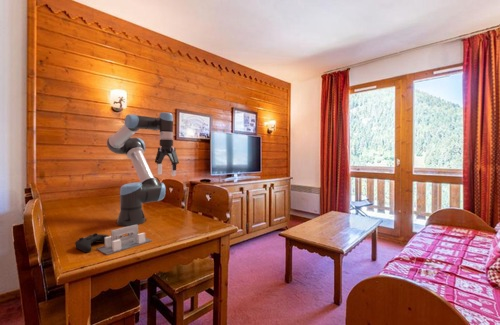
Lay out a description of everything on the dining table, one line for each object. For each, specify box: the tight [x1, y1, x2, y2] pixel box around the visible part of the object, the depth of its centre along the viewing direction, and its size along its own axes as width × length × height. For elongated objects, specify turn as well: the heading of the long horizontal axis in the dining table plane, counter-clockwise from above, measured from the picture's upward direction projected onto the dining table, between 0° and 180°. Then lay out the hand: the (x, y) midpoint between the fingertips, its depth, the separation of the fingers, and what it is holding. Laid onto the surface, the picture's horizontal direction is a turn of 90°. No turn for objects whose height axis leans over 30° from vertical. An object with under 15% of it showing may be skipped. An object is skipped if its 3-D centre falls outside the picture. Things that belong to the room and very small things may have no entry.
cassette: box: [110, 224, 139, 247], centre depth 110 cm, size 12×2×8 cm, turn 144°
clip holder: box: [96, 232, 153, 256], centre depth 110 cm, size 10×20×4 cm, turn 144°
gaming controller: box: [74, 232, 110, 253], centre depth 109 cm, size 14×6×10 cm
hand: (166, 175), depth 144 cm, fingers open, 13 cm apart
